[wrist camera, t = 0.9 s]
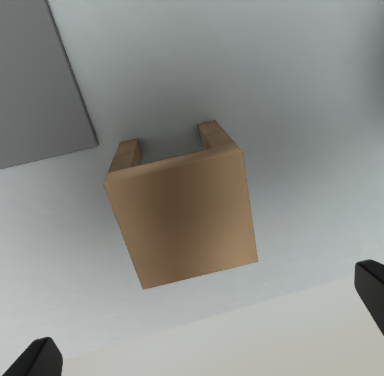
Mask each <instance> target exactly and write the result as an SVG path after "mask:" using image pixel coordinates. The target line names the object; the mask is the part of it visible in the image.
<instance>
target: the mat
mask: <svg viewBox="0 0 384 376" xmlns="http://www.w3.org/2000/svg"><path fill="white" fill-rule="evenodd" d="M96 146H98V141H97V139H96V136H95V133H94V130H93V128H92V125H91V122H90V119H89V117H88V114H87V111H86V108H85V106H84V103H83V100H82V97H81V94H80V92H79V89H78V86H77V83H76V81H75V78H74V75H73V72H72V70H71V67H70V64H69V61H68V58H67V56H66V53H65V50H64V47H63V45H62V42H61V39H60V36H59V34H58V31H57V28H56V25H55V22H54V20H53V17H52V14H51V11H50V9H49V6H48V3H47V0H0V169H4V168H8V167H12V166H17V165H21V164H25V163H29V162H33V161H38V160H42V159H46V158H50V157H54V156H59V155H63V154H67V153H71V152H75V151H80V150H84V149H88V148H92V147H96Z"/></svg>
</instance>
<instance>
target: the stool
mask: <svg viewBox="0 0 384 376" xmlns="http://www.w3.org/2000/svg"><path fill="white" fill-rule="evenodd" d="M198 127H199V132H200V137H201V141H202V143H203V145H204V147H205V149H206V150H202V151H198V152H194V153H190V154H185V155H181V156H177V157H173V158H169V159H165V160H160V161H156V162H152V163H148V164H144V165H141V158H142V154H141V150H140V147H139V144H138V140H137V139H134V140H129V141H125V142H121V143H120V144H119V147H118V149H117V152H116V154H115V157H114V159H113V161H112V164H111V166H110V169H109V171H108V174H107V176H106V179H105V181H104V184H103V185H104V188H105V190H106V193H107V196H108V198H109V201H110V204H111V206H112V209H113V211H114V214H115V217H116V219H117V222H118V225H119V227H120V230H121V233H122V235H123V238H124V241H125V243H126V246H127V249H128V251H129V254H130V257H131V259H132V262H133V265H134V267H135V270H136V273H137V275H138V278H139V280H140V283H141V286H142V288H143V290H144V289H148V288H152V287H156V286H160V285H164V284H168V283H172V282H176V281H180V280H185V279H189V278H193V277H197V276H201V275H205V274H209V273H213V272H217V271H221V270H225V269H229V268H234V267H238V266H242V265H246V264H250V263H254V262H258V257H257V250H256V243H255V236H254V229H253V222H252V216H251V209H250V202H249V195H248V188H247V181H246V174H245V167H244V160H243V153H242V150H241V149H240V148H239V147H238V146H237V145H236V143H235V142H234V141H233V140H232V139H231V138H230V137H229V136H228V134H227V133H226V132H225V131H224V130H223V129H222V128H221V127H220V126H219V124H218V123H217V122H216V121H215V120H213V121H209V122H205V123H201V124H198Z"/></svg>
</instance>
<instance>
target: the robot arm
mask: <svg viewBox="0 0 384 376" xmlns="http://www.w3.org/2000/svg"><path fill="white" fill-rule="evenodd" d="M354 283H355V288H356V290H357V292H358V294H359V296H360V297H361V299H362V301H363V302H364V304H365V306H366V307H367V309H368V311H369V312H370V314H371V316H372V317H373V319H374V321H375V322H376V324H377V326H378V327H379V329H380V330H381V332H382V334H383V335H384V265H383V264H381V263H378V262H376V261H374V260H364V261H360V262H357V263H356V265H355V281H354ZM62 365H63V358H62V354H61V352H60V351H59V349H58V348H57V346H56V344H55V343H54V341H53V339H52V338H50V337H44V338H40V339H36V340H34V341H33V342H32V343H31V344H30V345H29V346H28V348H27V349H26V350H25V351H24V352H23V353H22V354H21V355H20V356H19V357H18V359H17V360H16V361H15V362H14V363H13V364H12V365H11V366H10V367H9V369H8V370H7V371H6V372H5V373H4V374H3V375H2V376H61V372H62Z"/></svg>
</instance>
